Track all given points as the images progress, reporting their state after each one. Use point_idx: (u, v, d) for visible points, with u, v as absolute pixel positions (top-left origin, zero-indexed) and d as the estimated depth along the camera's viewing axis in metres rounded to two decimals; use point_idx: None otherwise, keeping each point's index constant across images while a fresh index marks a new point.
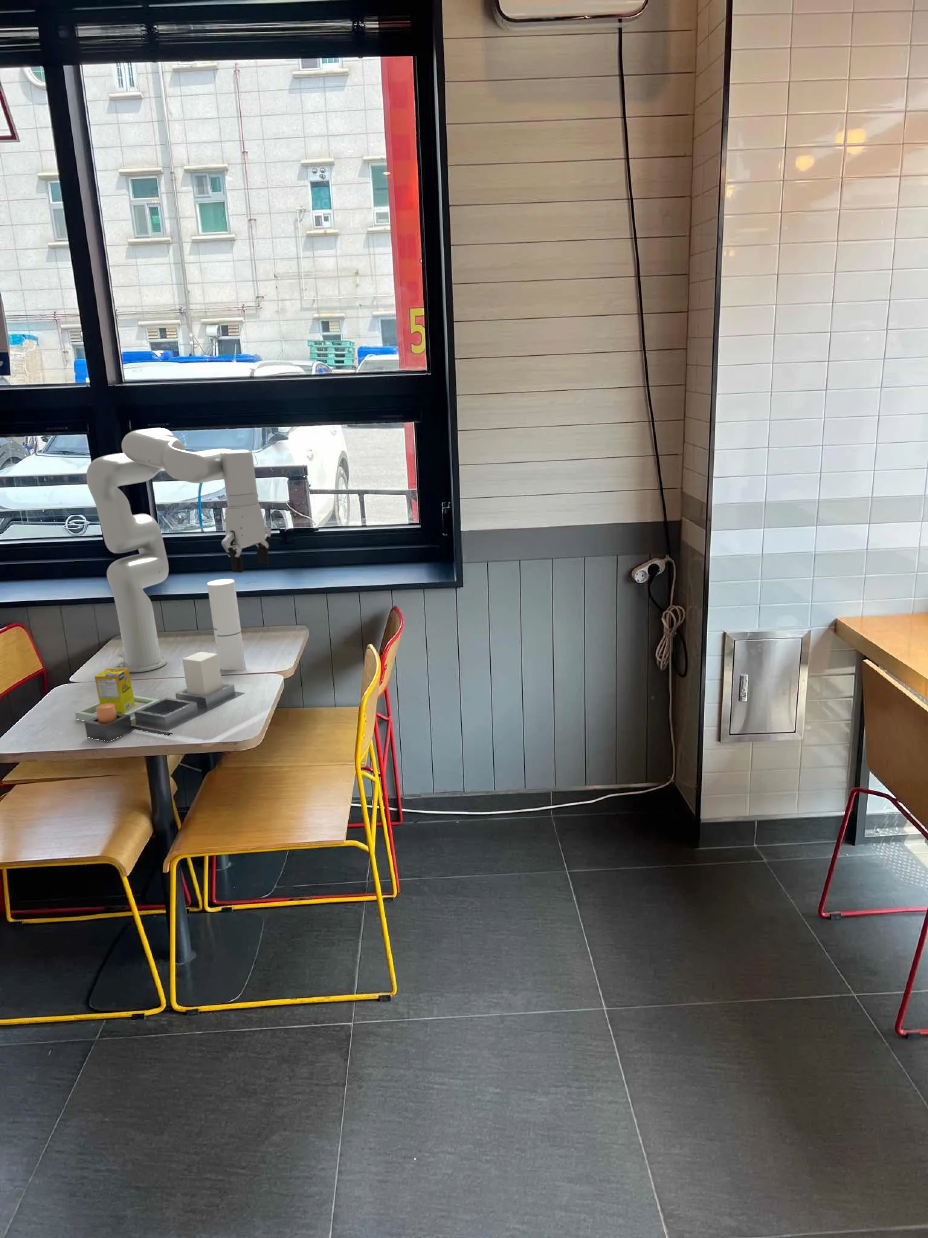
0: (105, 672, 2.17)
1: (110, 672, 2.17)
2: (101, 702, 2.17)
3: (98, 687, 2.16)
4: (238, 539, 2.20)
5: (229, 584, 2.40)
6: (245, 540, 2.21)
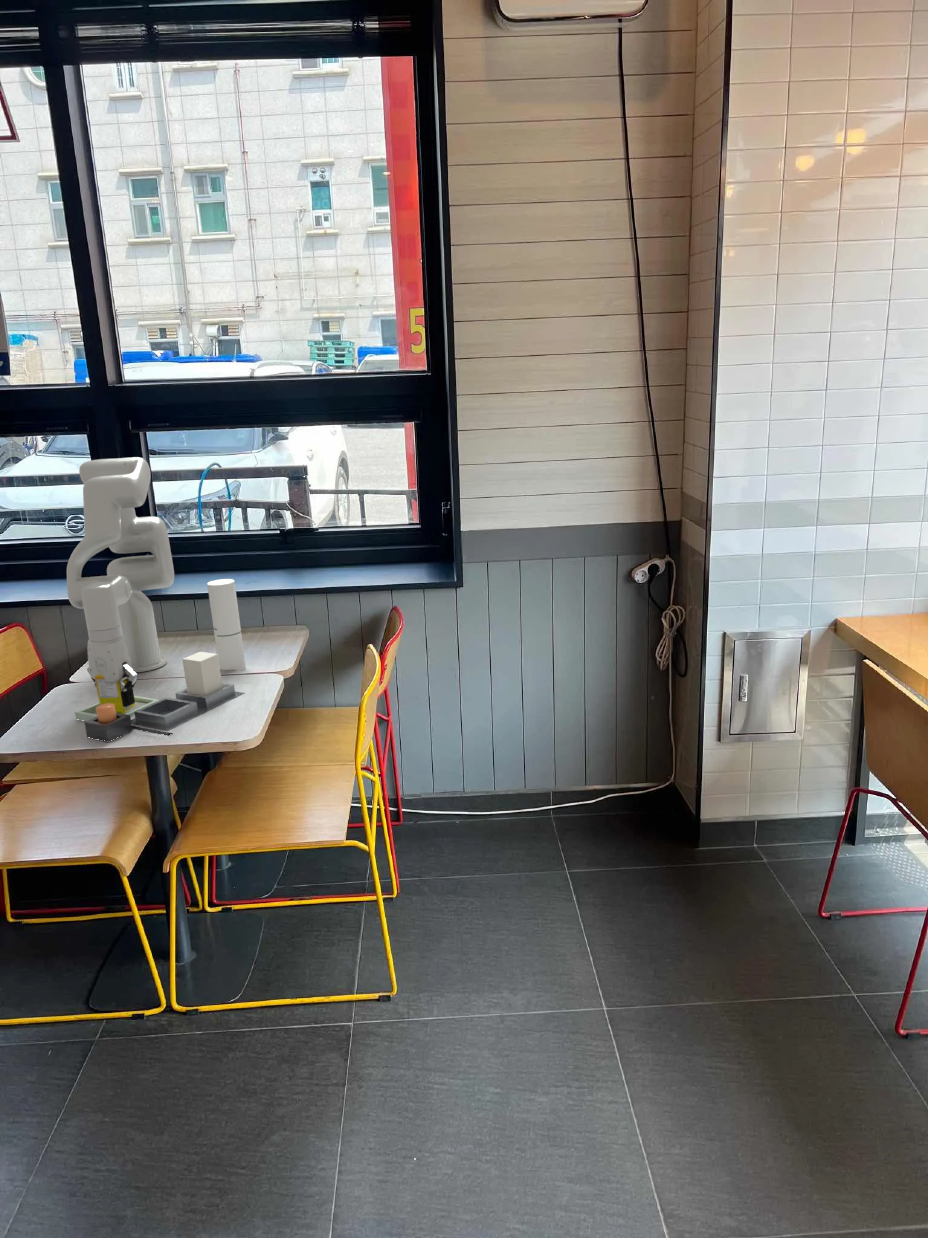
0: None
1: None
2: (101, 702, 2.17)
3: (98, 687, 2.16)
4: (130, 668, 2.16)
5: (229, 584, 2.40)
6: None
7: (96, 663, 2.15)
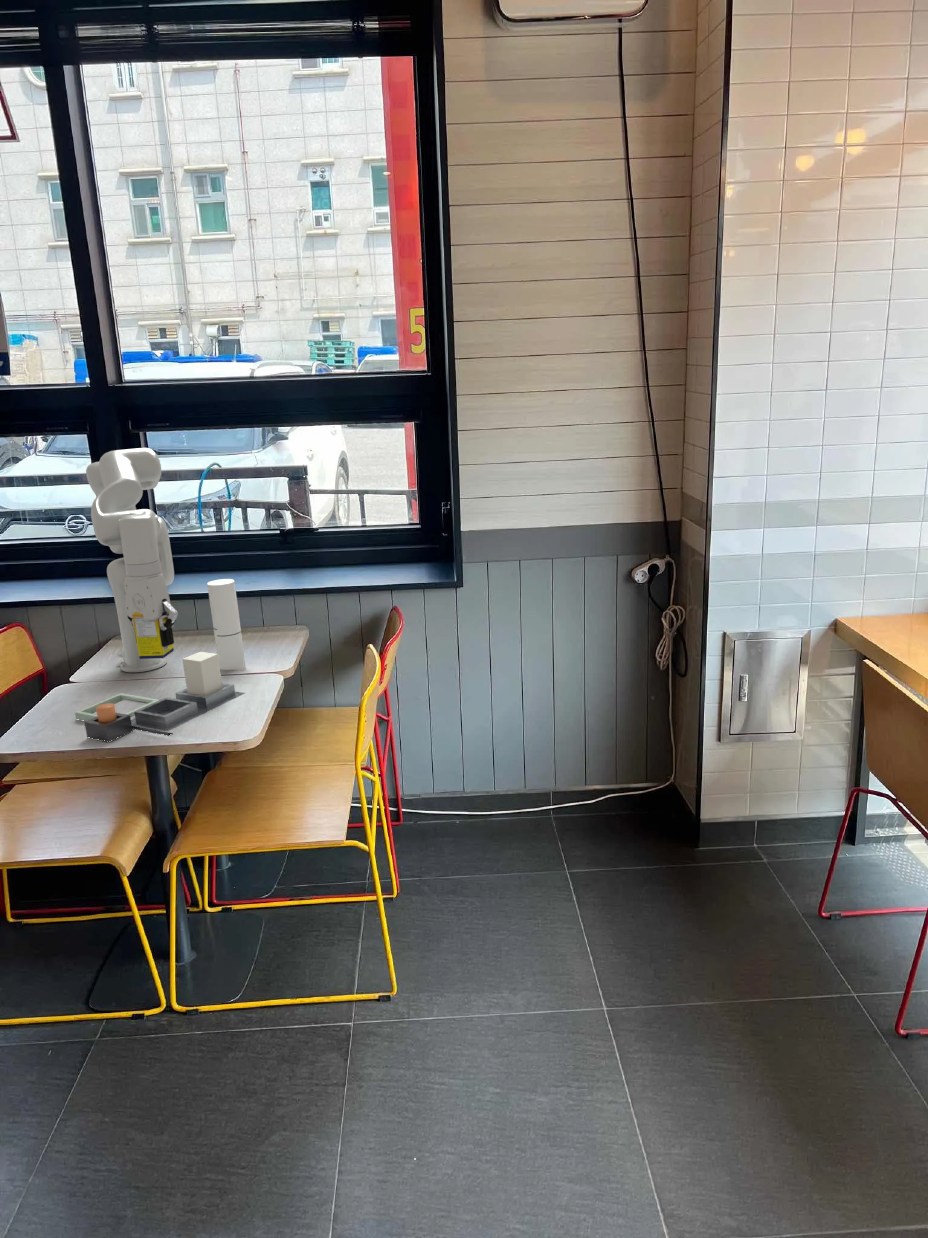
0: None
1: None
2: (138, 642, 2.05)
3: (135, 626, 2.04)
4: None
5: (229, 584, 2.40)
6: None
7: (134, 600, 2.03)
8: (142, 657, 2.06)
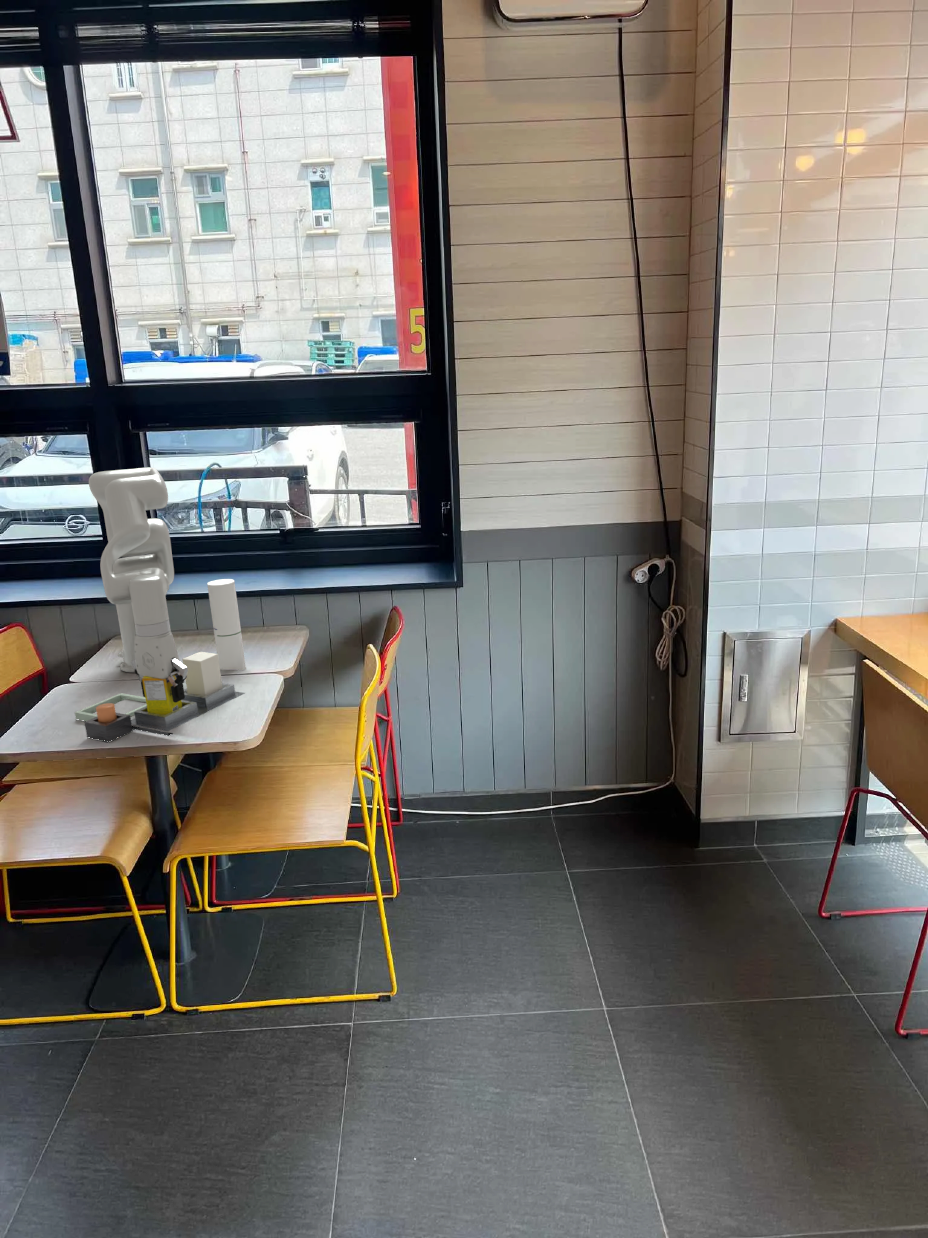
0: None
1: None
2: (148, 704, 2.09)
3: (145, 689, 2.08)
4: None
5: (229, 584, 2.40)
6: None
7: (143, 659, 2.07)
8: None
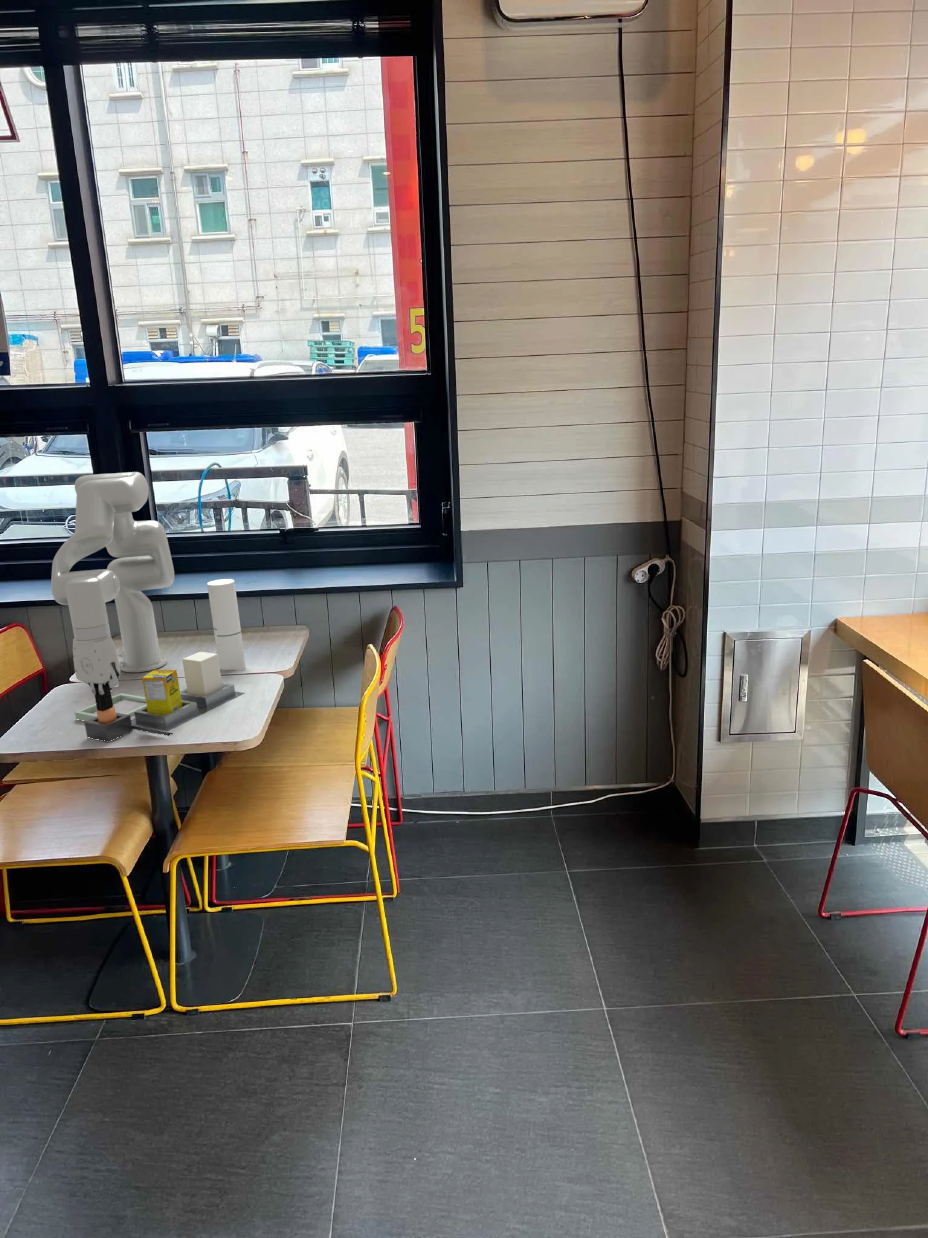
0: (152, 673, 2.10)
1: (157, 674, 2.09)
2: (148, 704, 2.09)
3: (145, 689, 2.08)
4: (119, 669, 2.02)
5: (229, 584, 2.40)
6: None
7: (82, 663, 2.00)
8: None
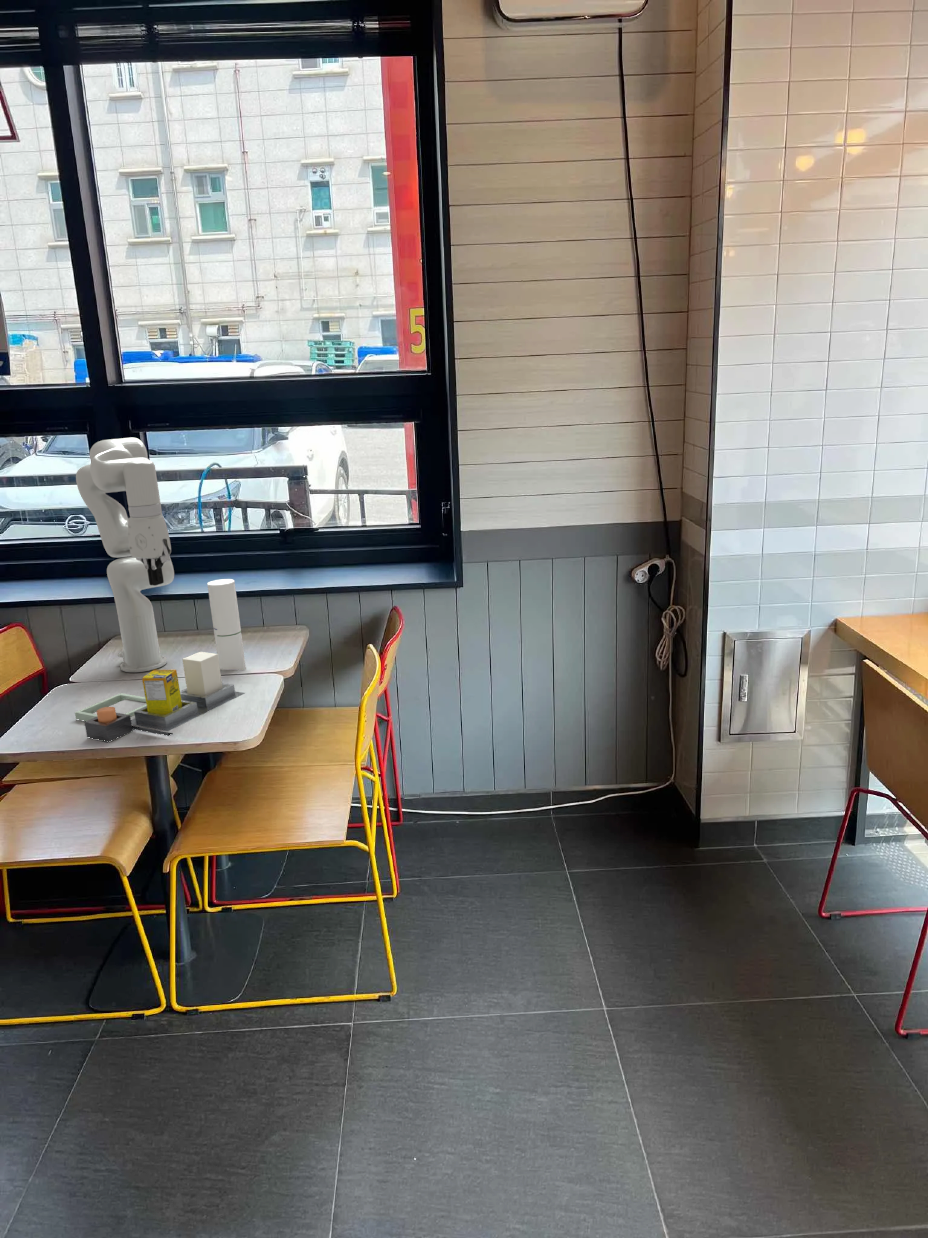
0: (152, 673, 2.10)
1: (157, 674, 2.09)
2: (148, 704, 2.09)
3: (145, 689, 2.08)
4: (170, 546, 2.21)
5: (229, 584, 2.40)
6: None
7: (136, 540, 2.20)
8: None
